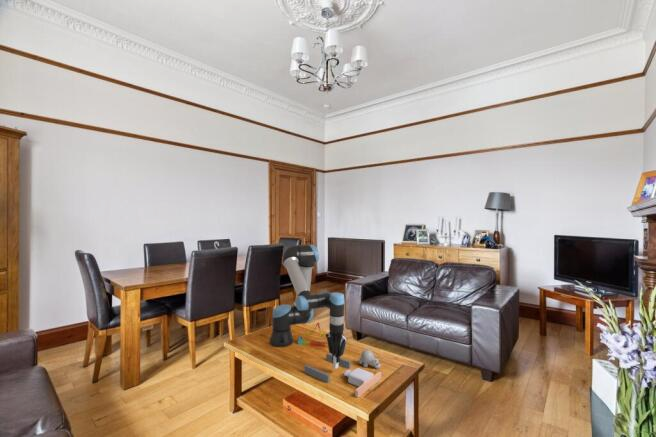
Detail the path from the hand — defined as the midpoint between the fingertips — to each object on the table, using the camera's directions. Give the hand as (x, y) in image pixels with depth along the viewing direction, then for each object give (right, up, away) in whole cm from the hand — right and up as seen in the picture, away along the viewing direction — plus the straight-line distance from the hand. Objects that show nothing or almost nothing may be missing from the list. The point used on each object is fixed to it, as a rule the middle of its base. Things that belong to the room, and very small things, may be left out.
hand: (335, 367), depth 161 cm
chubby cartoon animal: (+19, -3, +7) cm, 21 cm away
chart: (-8, -3, +34) cm, 35 cm away
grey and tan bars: (+3, -3, -3) cm, 5 cm away
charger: (+10, -3, -7) cm, 13 cm away
